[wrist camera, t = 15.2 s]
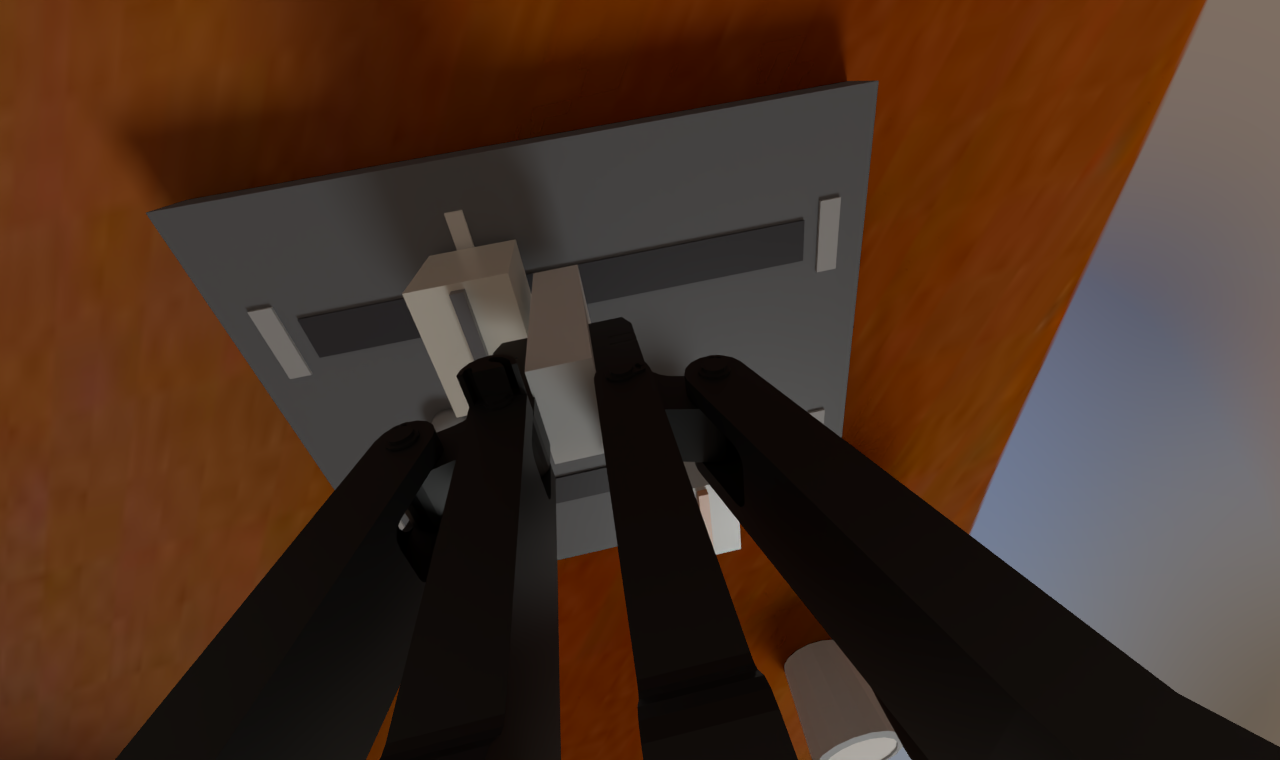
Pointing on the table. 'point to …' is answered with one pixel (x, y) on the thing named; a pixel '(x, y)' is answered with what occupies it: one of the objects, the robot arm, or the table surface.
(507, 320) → the cream fader
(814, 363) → the console
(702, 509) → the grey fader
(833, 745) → the grey rimmed cylinder
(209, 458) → the table surface
